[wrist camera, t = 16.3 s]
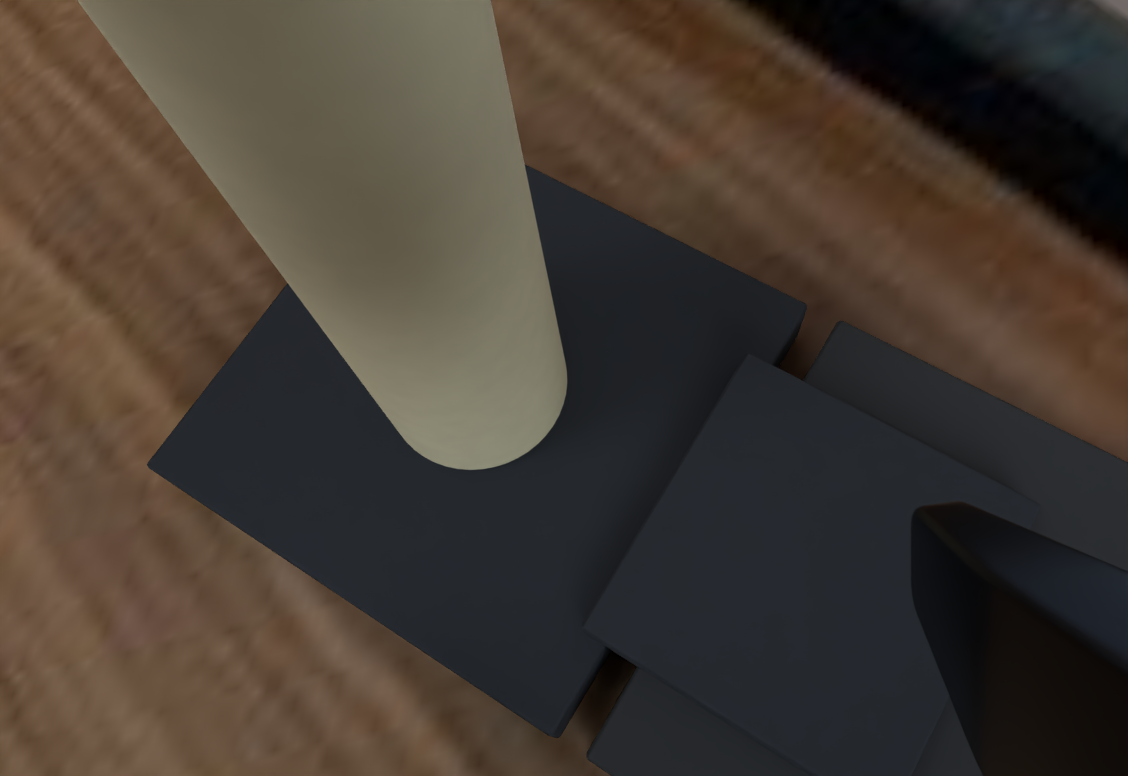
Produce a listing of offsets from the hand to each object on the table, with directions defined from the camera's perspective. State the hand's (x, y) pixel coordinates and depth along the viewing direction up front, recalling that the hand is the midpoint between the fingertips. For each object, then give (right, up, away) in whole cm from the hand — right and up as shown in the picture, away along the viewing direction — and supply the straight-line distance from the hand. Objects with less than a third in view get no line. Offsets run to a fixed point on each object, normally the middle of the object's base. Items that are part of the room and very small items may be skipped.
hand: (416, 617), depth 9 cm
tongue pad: (+2, +1, +8) cm, 8 cm away
